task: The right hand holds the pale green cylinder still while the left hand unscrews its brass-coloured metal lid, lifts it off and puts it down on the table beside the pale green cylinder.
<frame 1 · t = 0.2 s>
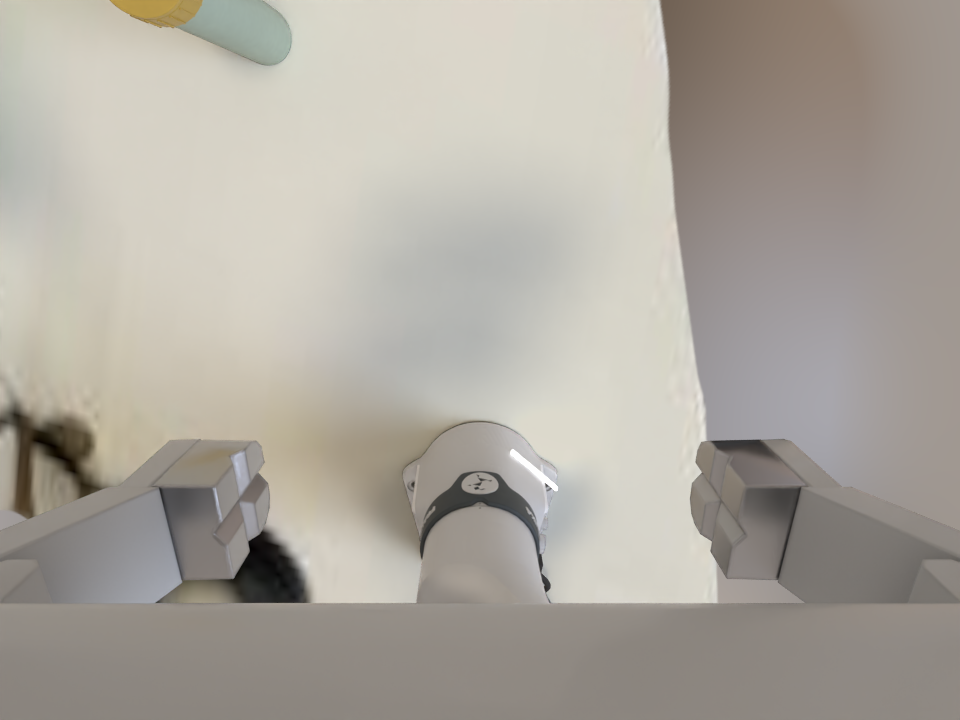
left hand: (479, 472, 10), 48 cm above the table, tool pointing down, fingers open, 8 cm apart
pale green cylinder: (265, 36, 49), on the table
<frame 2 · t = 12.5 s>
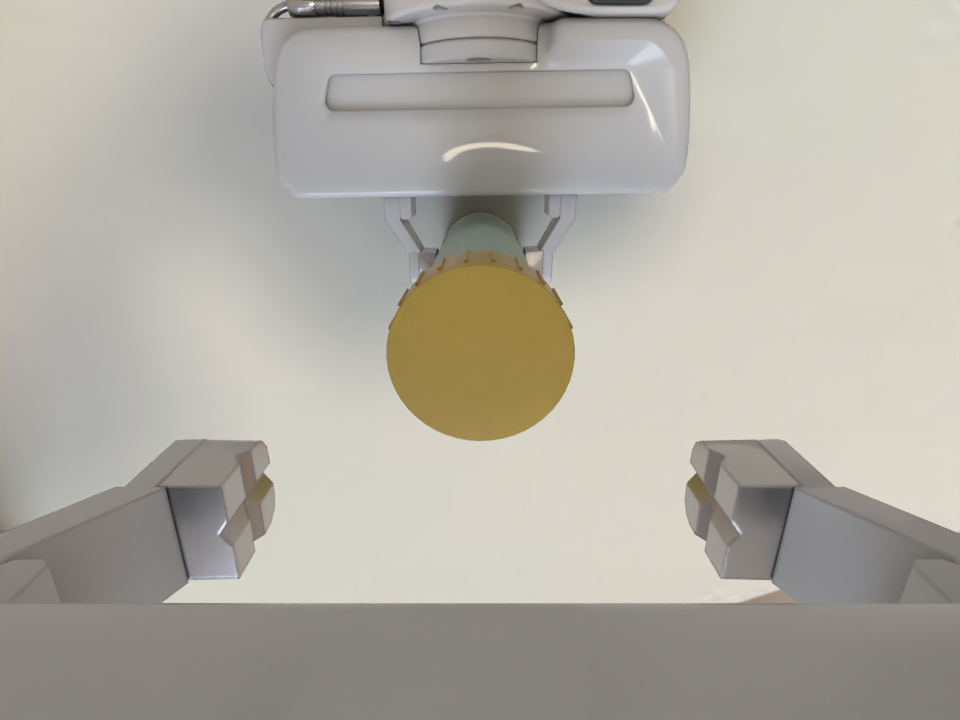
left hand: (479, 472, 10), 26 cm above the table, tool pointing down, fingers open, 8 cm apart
right hand: (481, 281, 30), fingers closed on pale green cylinder, 5 cm apart
pale green cylinder: (481, 250, 34), on the table, touching right hand
lid: (480, 354, 16), point 19 cm above the table, screwed on, not yet turned
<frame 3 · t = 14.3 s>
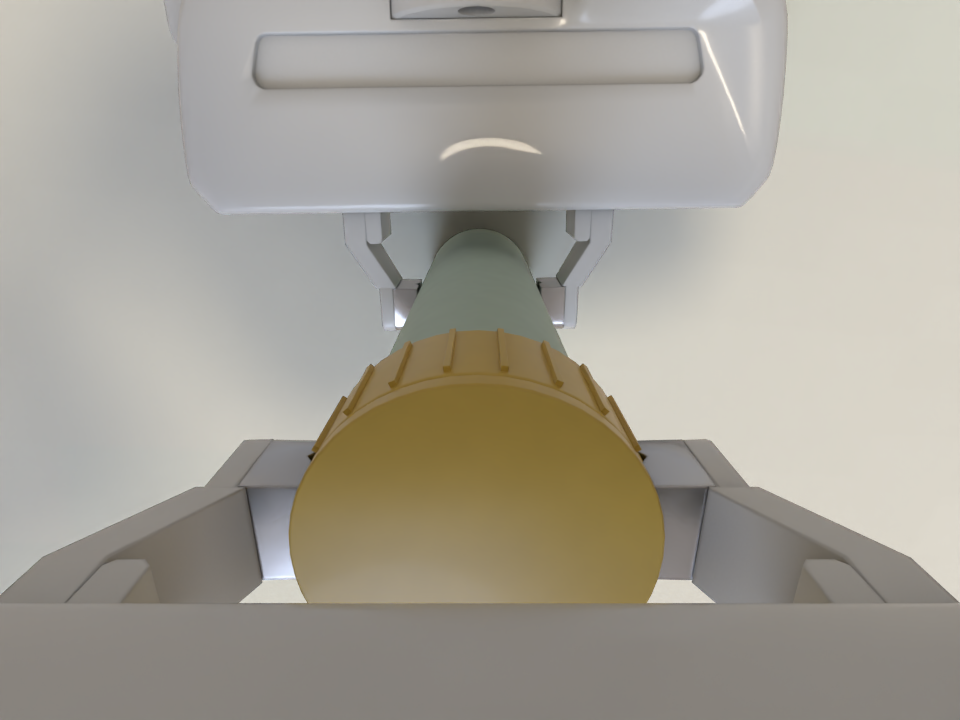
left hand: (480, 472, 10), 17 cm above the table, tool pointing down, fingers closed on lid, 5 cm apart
pale green cylinder: (479, 278, 26), on the table, touching right hand
lid: (476, 540, 8), point 19 cm above the table, screwed on, not yet turned, touching left hand
when the left hand's fingers open (18 cm above the table, at t = 15.5 s): lid stays where it is, point 20 cm above the table.
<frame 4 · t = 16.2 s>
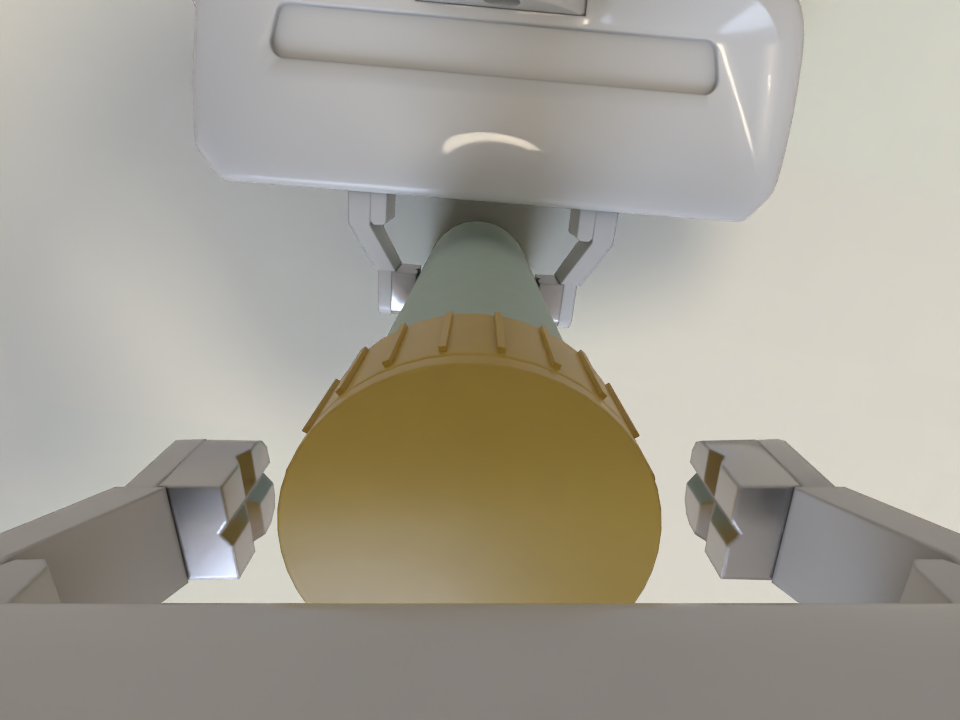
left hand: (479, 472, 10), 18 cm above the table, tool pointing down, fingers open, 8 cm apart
right hand: (475, 317, 22), fingers closed on pale green cylinder, 5 cm apart
pale green cylinder: (477, 270, 26), on the table, touching right hand
lid: (469, 526, 8), point 20 cm above the table, turned 70° so far, risen 0.2 cm, still on its thread
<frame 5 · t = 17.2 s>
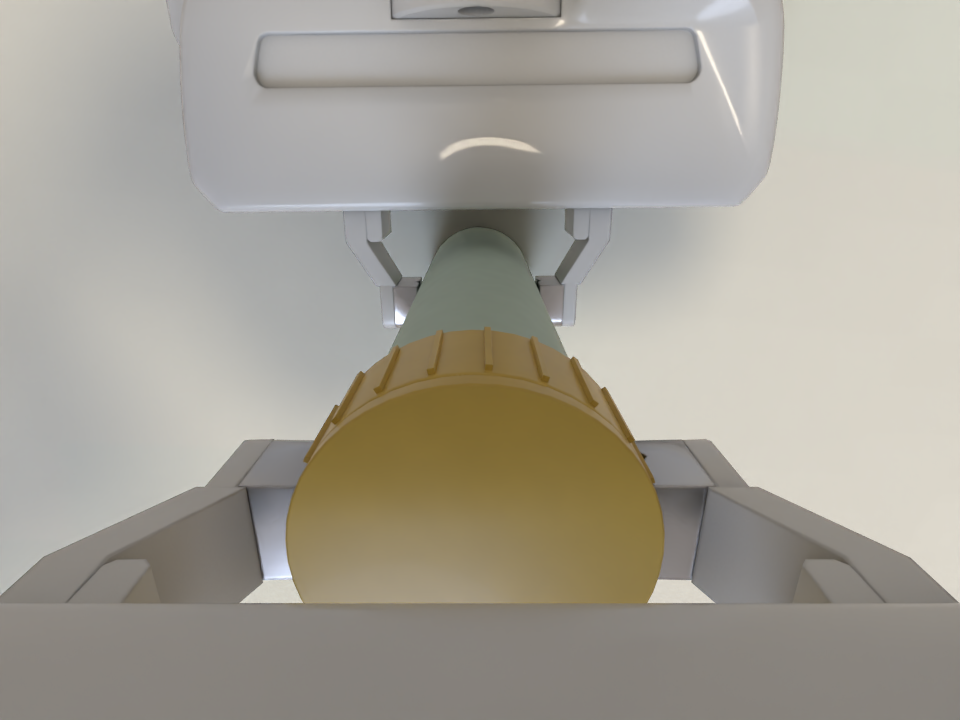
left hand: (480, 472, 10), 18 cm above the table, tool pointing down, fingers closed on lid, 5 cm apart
pale green cylinder: (479, 276, 26), on the table, touching right hand
lid: (475, 541, 8), point 20 cm above the table, turned 70° so far, risen 0.2 cm, still on its thread, touching left hand
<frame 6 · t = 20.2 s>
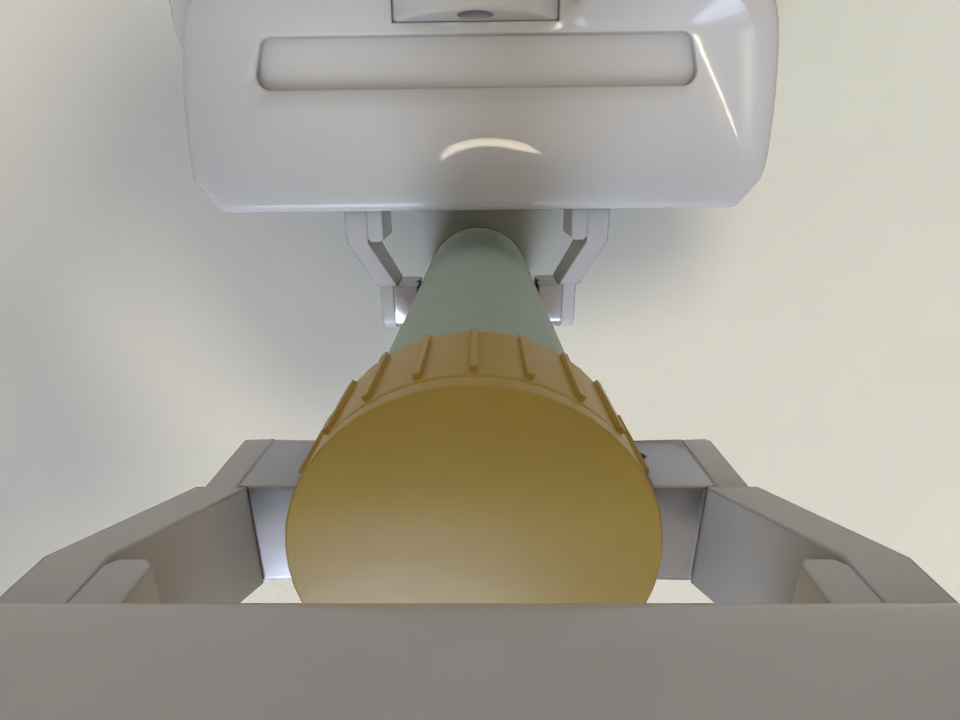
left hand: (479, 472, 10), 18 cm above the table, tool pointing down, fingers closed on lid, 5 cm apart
right hand: (479, 322, 22), fingers closed on pale green cylinder, 5 cm apart
pale green cylinder: (478, 276, 27), on the table, touching right hand
lid: (474, 542, 8), point 20 cm above the table, turned 139° so far, risen 0.5 cm, still on its thread, touching left hand
when the left hand's fingers open (2 cm above the table, at t = 26.4 s): lid drops 2 cm, point 2 cm above the table.
when the right hand's fingers open (5 cm above the table, at t = 27.4 s): pale green cylinder stays where it is, on the table.
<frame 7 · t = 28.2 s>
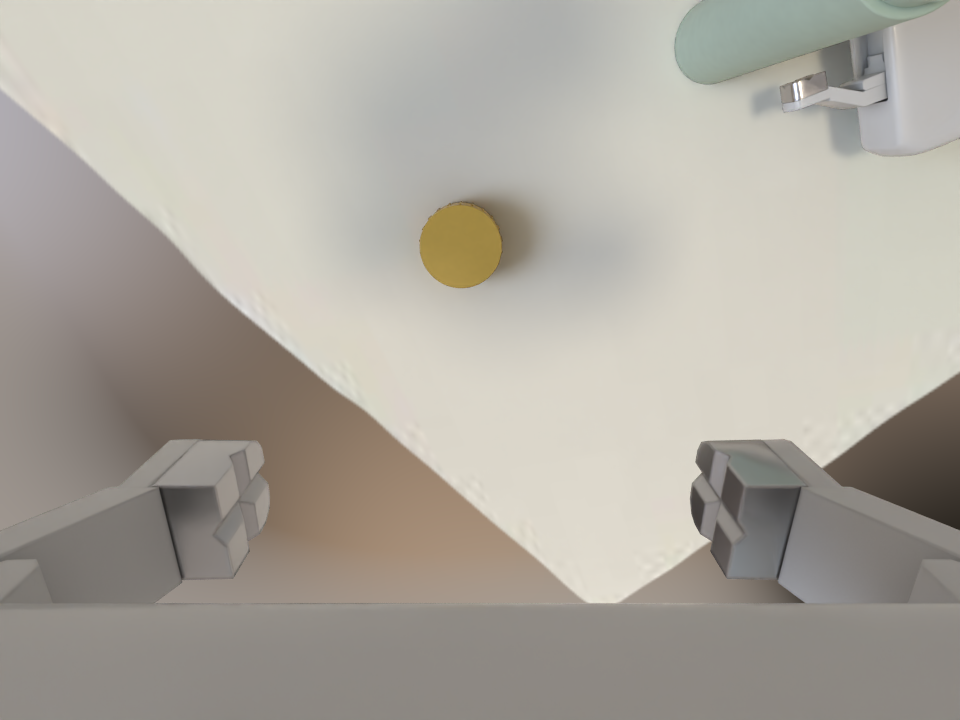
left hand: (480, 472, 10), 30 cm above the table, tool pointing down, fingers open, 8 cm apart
pale green cylinder: (712, 42, 34), on the table
lid: (460, 247, 36), point 2 cm above the table, off its thread
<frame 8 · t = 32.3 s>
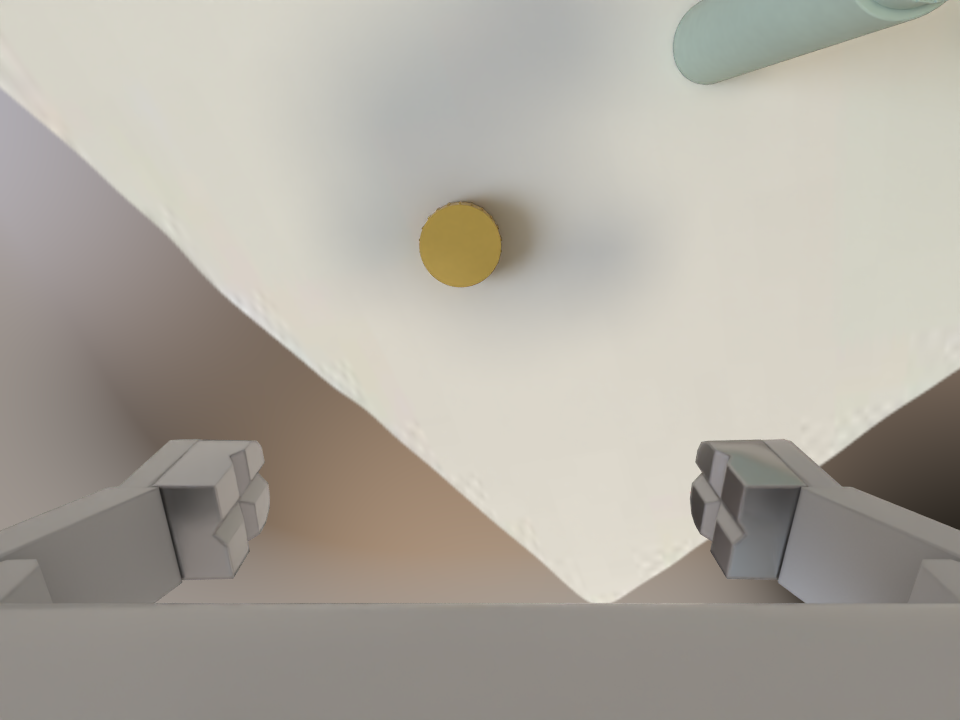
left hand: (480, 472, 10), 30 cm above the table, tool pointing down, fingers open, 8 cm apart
pale green cylinder: (710, 42, 34), on the table
lid: (460, 246, 36), point 2 cm above the table, off its thread
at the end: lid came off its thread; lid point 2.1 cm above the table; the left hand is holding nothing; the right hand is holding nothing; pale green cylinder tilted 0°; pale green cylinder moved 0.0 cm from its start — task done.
